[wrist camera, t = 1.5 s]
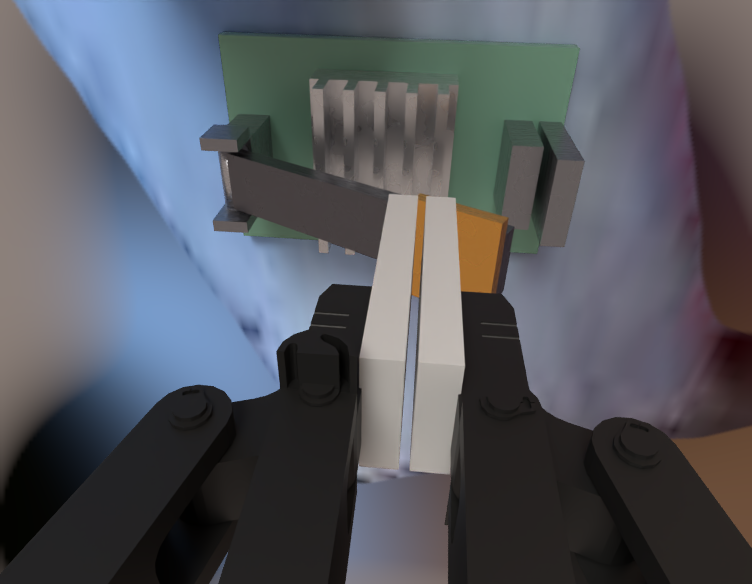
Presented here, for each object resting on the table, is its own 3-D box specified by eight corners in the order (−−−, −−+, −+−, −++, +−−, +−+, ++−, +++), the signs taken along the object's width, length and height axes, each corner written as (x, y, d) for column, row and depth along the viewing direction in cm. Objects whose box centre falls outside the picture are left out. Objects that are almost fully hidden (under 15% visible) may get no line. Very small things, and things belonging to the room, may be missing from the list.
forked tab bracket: (237, 103, 42) (199, 138, 35) (268, 104, 42) (236, 139, 35) (246, 185, 46) (214, 230, 39) (275, 186, 46) (248, 232, 39)
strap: (227, 130, 38) (203, 138, 36) (518, 208, 28) (502, 223, 27) (237, 211, 41) (216, 221, 40) (501, 304, 32) (486, 322, 30)
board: (223, 31, 40) (218, 34, 39) (576, 44, 39) (579, 48, 38) (247, 229, 49) (243, 235, 48) (534, 246, 48) (537, 253, 47)
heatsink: (317, 68, 40) (301, 88, 36) (457, 74, 39) (459, 95, 35) (323, 219, 47) (310, 252, 42) (442, 226, 46) (443, 260, 42)
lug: (504, 119, 41) (516, 157, 34) (561, 122, 41) (584, 161, 34) (493, 195, 44) (502, 243, 38) (545, 198, 44) (564, 247, 37)
